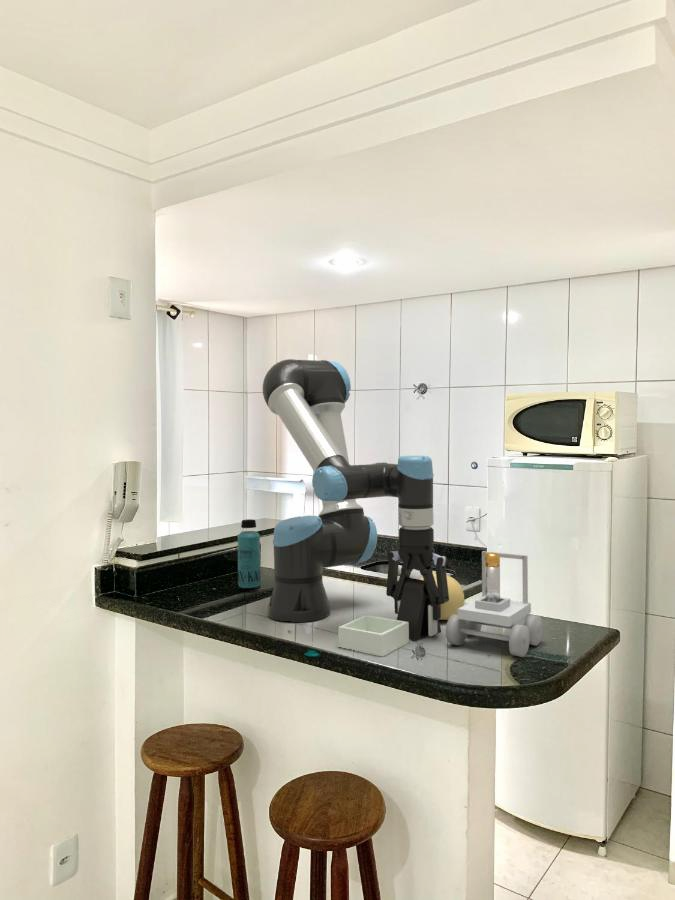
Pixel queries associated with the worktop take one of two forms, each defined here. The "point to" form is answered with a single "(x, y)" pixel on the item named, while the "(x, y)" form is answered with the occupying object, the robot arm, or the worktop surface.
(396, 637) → the tray
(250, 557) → the beverage bottle
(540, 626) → the trolley
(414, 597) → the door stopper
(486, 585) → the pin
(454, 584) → the yellow rounded lump
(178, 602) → the worktop surface
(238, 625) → the worktop surface
